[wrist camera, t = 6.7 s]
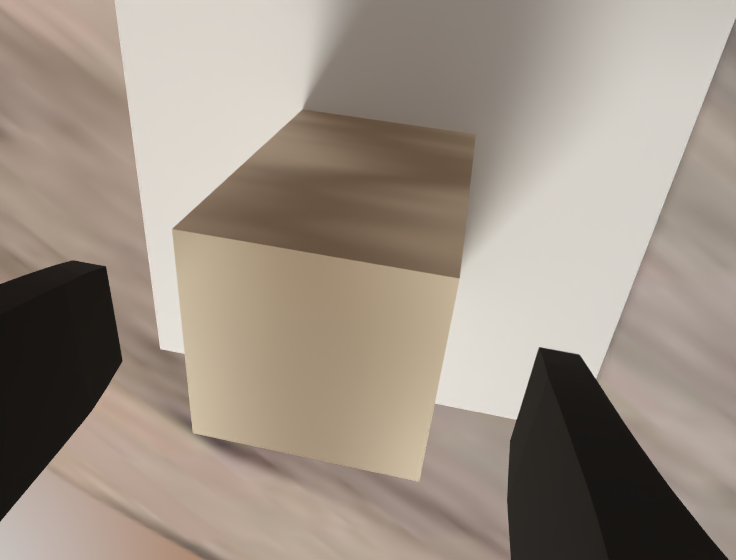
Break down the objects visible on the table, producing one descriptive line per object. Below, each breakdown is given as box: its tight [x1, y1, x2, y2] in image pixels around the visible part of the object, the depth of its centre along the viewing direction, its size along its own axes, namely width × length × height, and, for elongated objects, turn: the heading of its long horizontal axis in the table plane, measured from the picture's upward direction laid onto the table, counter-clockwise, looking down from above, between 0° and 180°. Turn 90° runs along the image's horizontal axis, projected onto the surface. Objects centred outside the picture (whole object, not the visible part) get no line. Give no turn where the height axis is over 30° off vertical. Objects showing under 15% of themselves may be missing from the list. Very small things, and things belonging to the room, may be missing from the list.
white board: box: [115, 0, 736, 420], centre depth 16 cm, size 14×14×1 cm
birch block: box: [172, 109, 476, 481], centre depth 13 cm, size 4×4×7 cm
